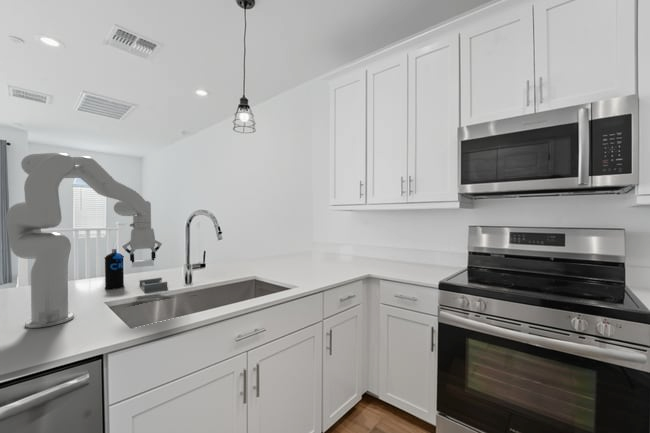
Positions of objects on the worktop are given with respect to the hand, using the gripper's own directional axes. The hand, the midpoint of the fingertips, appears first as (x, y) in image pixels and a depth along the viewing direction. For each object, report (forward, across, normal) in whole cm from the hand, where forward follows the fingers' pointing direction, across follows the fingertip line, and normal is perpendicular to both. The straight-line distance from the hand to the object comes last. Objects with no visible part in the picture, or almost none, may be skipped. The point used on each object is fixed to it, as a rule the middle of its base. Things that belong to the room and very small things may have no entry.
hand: (143, 260), depth 144 cm
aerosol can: (+15, -10, +16) cm, 24 cm away
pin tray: (+15, +5, +2) cm, 16 cm away
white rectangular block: (+3, 0, 0) cm, 3 cm away
